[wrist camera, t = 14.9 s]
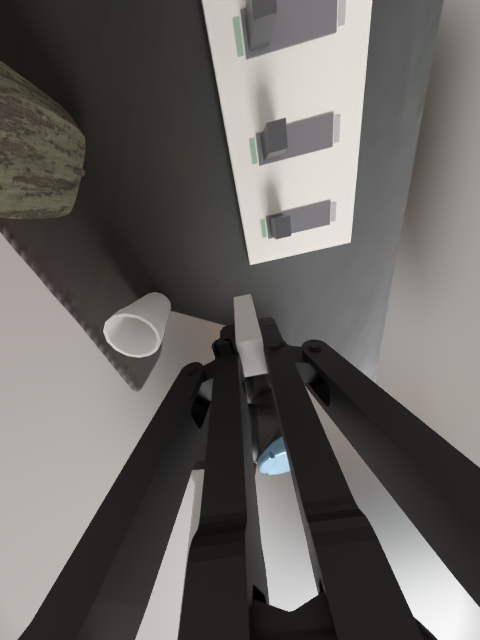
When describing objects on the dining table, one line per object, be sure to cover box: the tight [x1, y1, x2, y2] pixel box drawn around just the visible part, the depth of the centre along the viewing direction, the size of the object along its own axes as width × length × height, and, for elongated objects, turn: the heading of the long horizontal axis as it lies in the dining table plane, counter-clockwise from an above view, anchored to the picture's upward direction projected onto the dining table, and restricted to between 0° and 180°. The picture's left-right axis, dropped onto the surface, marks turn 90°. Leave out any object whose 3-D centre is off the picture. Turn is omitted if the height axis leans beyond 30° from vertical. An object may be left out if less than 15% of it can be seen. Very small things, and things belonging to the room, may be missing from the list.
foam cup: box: [103, 292, 171, 357], centre depth 38 cm, size 10×9×13 cm
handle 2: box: [269, 215, 291, 239], centre depth 32 cm, size 3×2×4 cm
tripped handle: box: [261, 118, 288, 161], centre depth 26 cm, size 3×2×4 cm
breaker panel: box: [201, 0, 372, 265], centre depth 29 cm, size 34×20×3 cm, turn 12°
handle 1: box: [245, 0, 277, 51], centre depth 21 cm, size 3×2×4 cm
